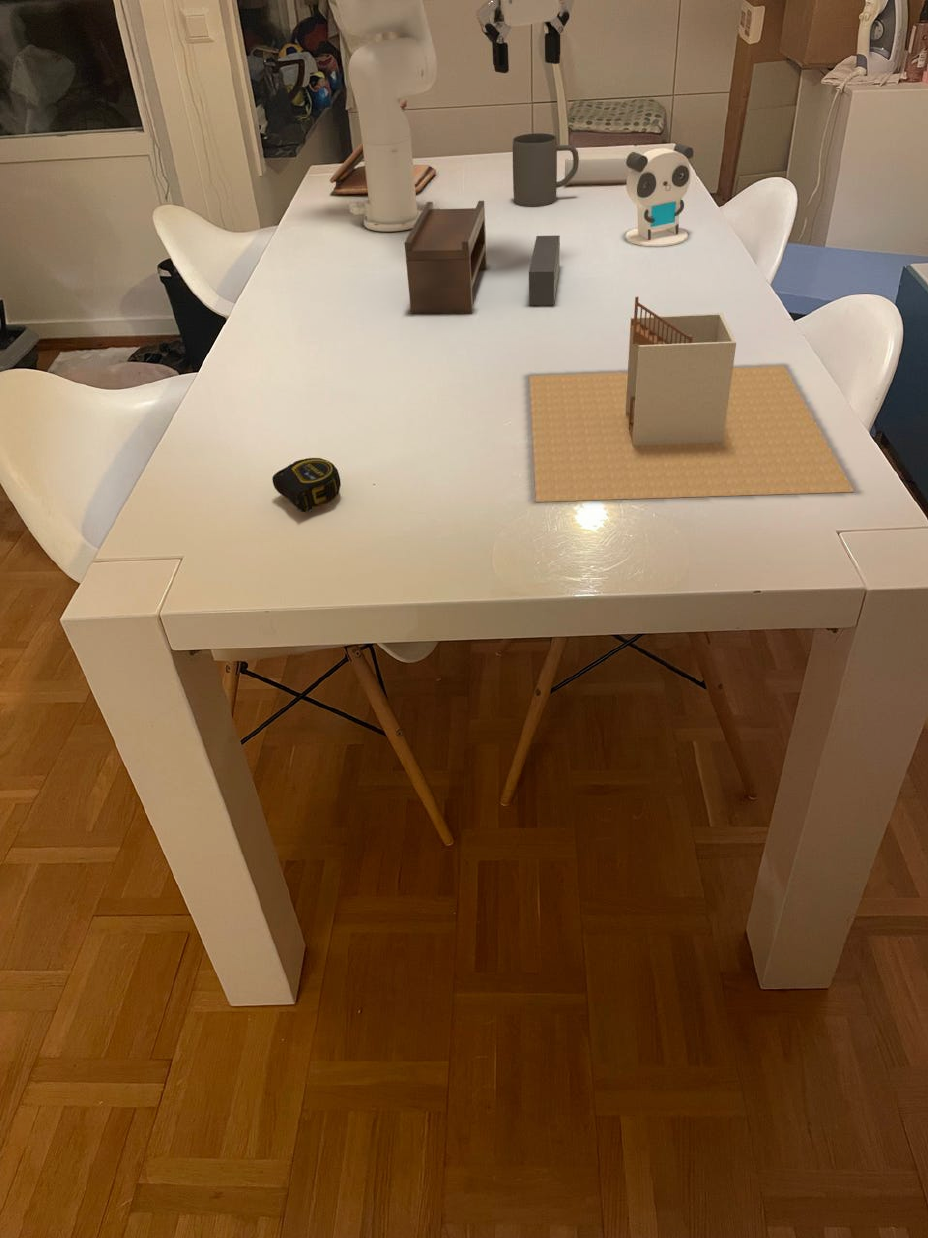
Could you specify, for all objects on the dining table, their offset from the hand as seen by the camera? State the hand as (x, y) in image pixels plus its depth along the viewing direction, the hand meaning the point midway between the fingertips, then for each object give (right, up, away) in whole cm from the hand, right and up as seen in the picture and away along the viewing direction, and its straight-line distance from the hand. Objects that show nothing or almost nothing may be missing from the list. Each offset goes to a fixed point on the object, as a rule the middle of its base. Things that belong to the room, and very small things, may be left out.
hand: (527, 67), depth 146 cm
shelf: (-12, -31, +12) cm, 35 cm away
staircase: (+16, -63, -30) cm, 72 cm away
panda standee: (+26, -16, +27) cm, 40 cm away
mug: (+7, +1, +50) cm, 50 cm away
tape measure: (-28, -74, -39) cm, 88 cm away
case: (-28, +13, +67) cm, 74 cm away
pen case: (+4, -31, +10) cm, 33 cm away
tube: (+25, +8, +57) cm, 62 cm away
